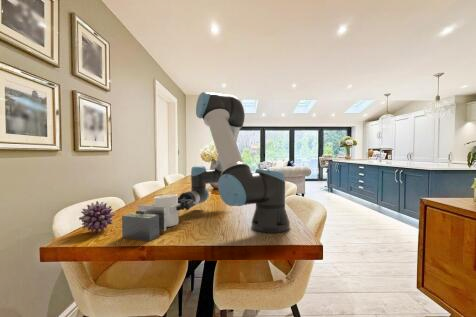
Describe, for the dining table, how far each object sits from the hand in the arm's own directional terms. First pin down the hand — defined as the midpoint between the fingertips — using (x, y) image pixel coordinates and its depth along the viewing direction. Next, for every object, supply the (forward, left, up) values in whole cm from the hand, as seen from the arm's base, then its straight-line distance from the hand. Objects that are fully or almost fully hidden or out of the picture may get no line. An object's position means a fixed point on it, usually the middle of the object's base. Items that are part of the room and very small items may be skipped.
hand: (160, 209), depth 97 cm
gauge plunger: (0, +8, -7) cm, 10 cm away
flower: (+20, +12, -8) cm, 24 cm away
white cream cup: (-1, -4, -8) cm, 9 cm away
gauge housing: (0, +11, -8) cm, 13 cm away
